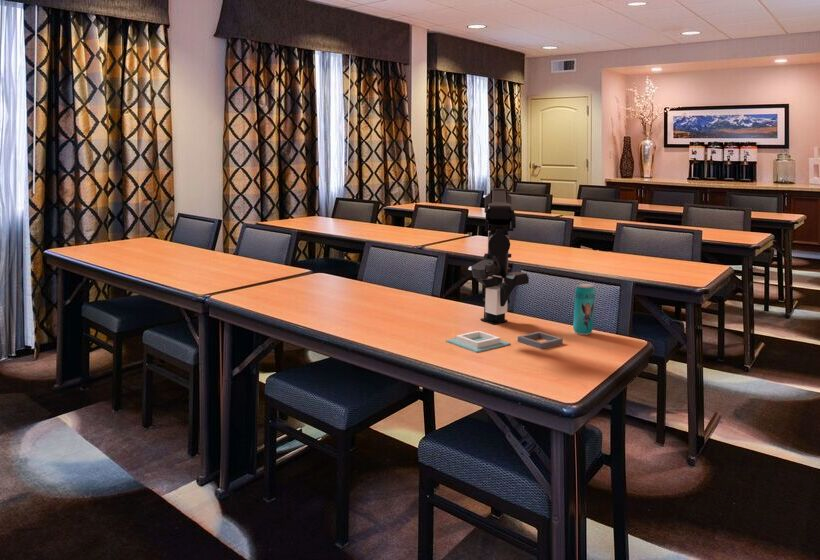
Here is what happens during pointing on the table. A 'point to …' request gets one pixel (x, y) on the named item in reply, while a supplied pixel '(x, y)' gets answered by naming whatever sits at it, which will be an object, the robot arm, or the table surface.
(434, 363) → the table surface
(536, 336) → the socket
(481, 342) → the socket
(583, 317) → the beverage can
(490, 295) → the plug block
